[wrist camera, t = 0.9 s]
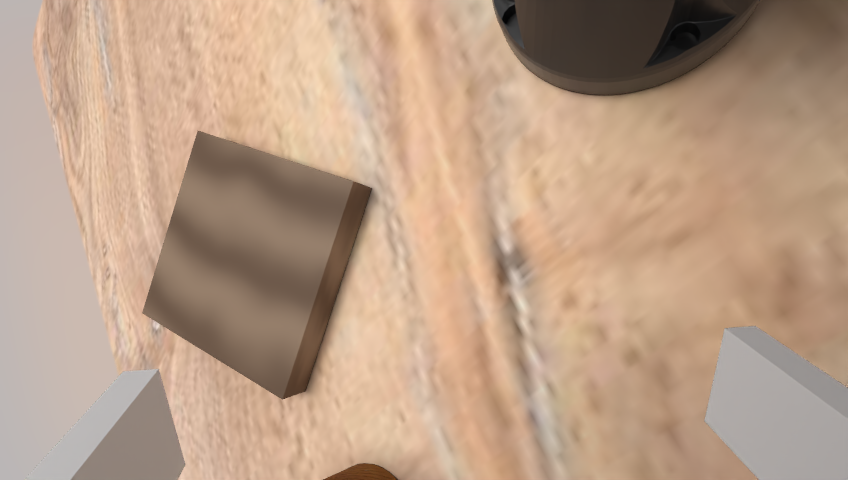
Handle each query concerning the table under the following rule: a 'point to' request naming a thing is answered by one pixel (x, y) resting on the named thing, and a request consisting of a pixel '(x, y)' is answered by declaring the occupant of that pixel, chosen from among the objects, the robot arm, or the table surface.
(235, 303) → the walnut board
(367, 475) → the disposable coffee cup
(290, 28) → the table surface
